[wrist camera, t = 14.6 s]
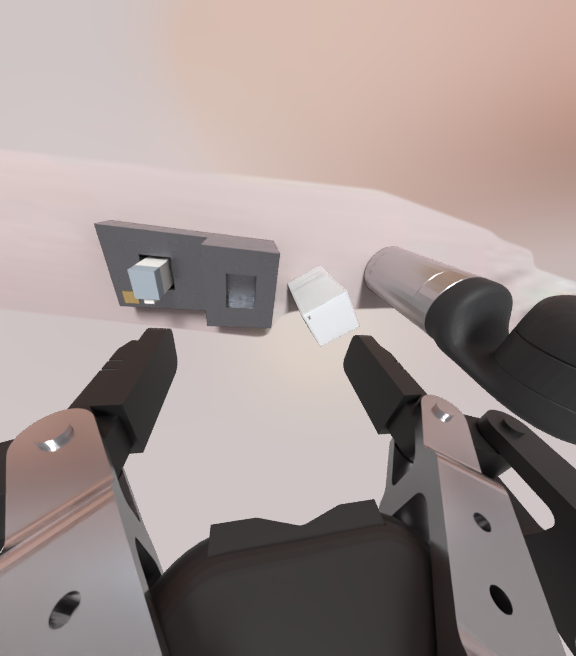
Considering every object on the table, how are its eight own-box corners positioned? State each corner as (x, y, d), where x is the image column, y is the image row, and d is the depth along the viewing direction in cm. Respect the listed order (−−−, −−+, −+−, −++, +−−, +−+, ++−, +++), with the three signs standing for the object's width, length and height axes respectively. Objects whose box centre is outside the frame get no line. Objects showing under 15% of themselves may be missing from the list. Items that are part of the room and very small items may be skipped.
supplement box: (302, 311, 44) (319, 348, 33) (286, 283, 40) (299, 314, 29) (333, 295, 43) (361, 327, 32) (320, 263, 39) (347, 289, 28)
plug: (172, 256, 33) (153, 271, 26) (177, 284, 36) (160, 305, 29) (152, 254, 32) (127, 269, 26) (157, 283, 35) (136, 304, 28)
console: (273, 240, 35) (280, 253, 28) (267, 304, 41) (271, 328, 34) (110, 220, 30) (65, 228, 23) (131, 295, 36) (101, 322, 29)
